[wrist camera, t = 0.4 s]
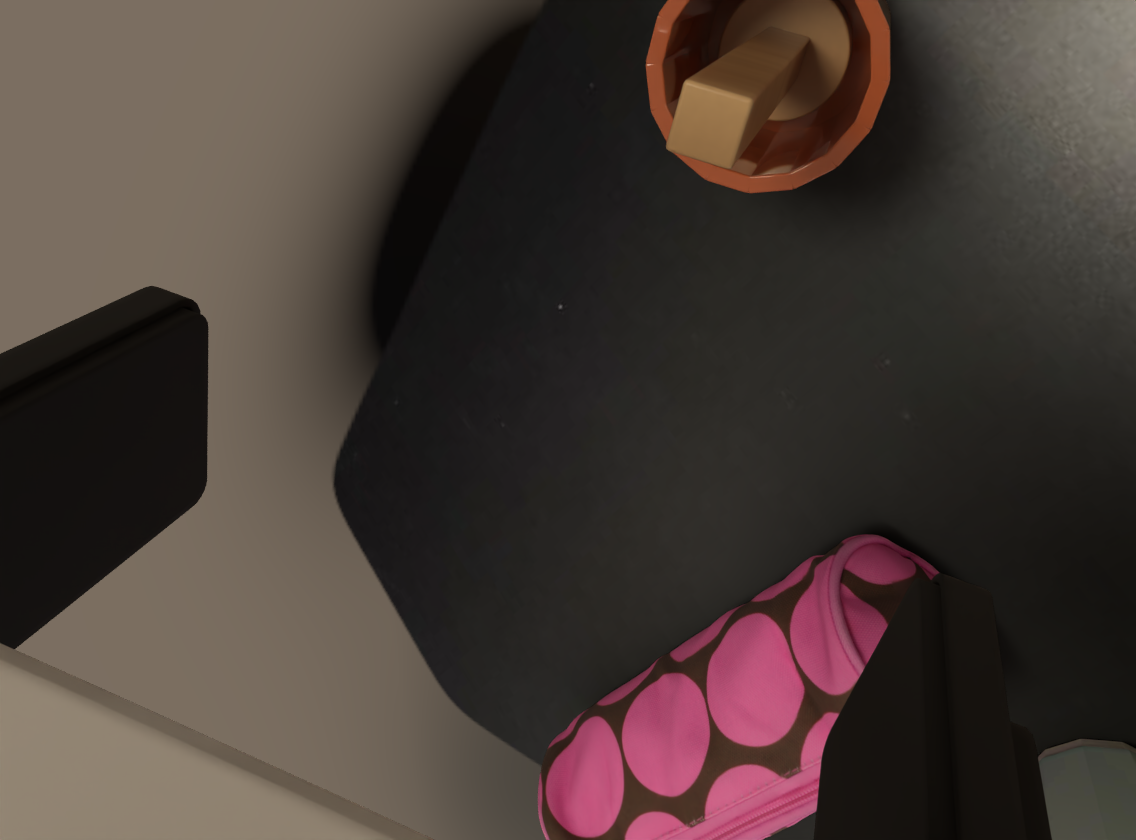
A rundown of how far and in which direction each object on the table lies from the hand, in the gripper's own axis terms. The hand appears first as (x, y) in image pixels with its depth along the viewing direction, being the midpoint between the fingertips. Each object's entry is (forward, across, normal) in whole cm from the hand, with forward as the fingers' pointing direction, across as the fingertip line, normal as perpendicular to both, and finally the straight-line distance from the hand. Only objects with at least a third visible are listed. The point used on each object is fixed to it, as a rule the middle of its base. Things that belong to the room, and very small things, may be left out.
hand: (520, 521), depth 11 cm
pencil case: (+26, -8, +24) cm, 36 cm away
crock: (+26, 0, -3) cm, 26 cm away
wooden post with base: (+26, 0, -3) cm, 26 cm away
